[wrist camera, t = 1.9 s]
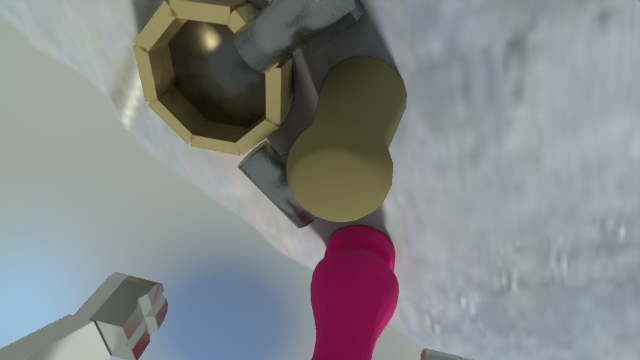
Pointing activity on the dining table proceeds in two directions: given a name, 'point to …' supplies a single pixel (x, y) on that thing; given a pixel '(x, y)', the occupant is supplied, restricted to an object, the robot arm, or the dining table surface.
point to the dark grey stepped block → (293, 29)
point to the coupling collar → (210, 76)
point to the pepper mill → (353, 293)
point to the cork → (349, 141)
